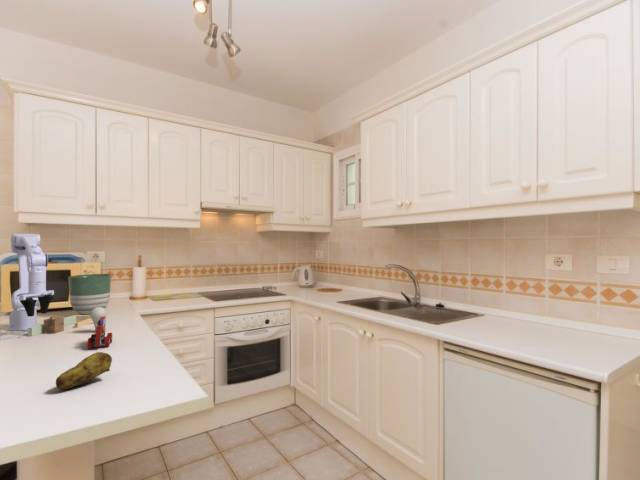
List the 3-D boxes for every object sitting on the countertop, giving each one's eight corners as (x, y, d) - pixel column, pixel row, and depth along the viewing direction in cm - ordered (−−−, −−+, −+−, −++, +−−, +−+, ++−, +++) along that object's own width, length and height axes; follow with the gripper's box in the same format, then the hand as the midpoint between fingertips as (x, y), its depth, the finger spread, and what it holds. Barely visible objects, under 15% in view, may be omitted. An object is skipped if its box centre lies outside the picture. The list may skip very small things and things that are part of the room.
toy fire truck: (85, 351, 124) (85, 323, 124) (93, 342, 136) (93, 316, 136) (108, 349, 127) (108, 321, 127) (113, 340, 139) (113, 314, 139)
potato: (58, 384, 96) (58, 355, 96) (111, 374, 103) (111, 347, 103) (54, 395, 89) (54, 364, 89) (112, 383, 96) (112, 355, 96)
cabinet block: (43, 333, 150) (43, 317, 150) (53, 330, 155) (53, 314, 155) (54, 333, 149) (54, 317, 149) (63, 330, 154) (63, 314, 154)
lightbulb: (98, 334, 148) (98, 308, 148) (86, 333, 149) (86, 308, 149) (109, 330, 154) (109, 306, 154) (98, 330, 155) (98, 305, 155)
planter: (84, 319, 176) (84, 278, 176) (60, 316, 183) (60, 276, 183) (119, 312, 194) (119, 274, 194) (95, 310, 201) (95, 273, 201)
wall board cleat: (27, 336, 145) (27, 327, 145) (74, 322, 171) (74, 315, 171) (50, 336, 145) (50, 328, 145) (94, 322, 170) (94, 315, 170)
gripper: (30, 284, 137) (30, 318, 136) (60, 280, 151) (60, 311, 151) (14, 284, 137) (14, 318, 137) (45, 280, 151) (45, 311, 151)
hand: (37, 314), depth 144 cm, fingers open, 6 cm apart
